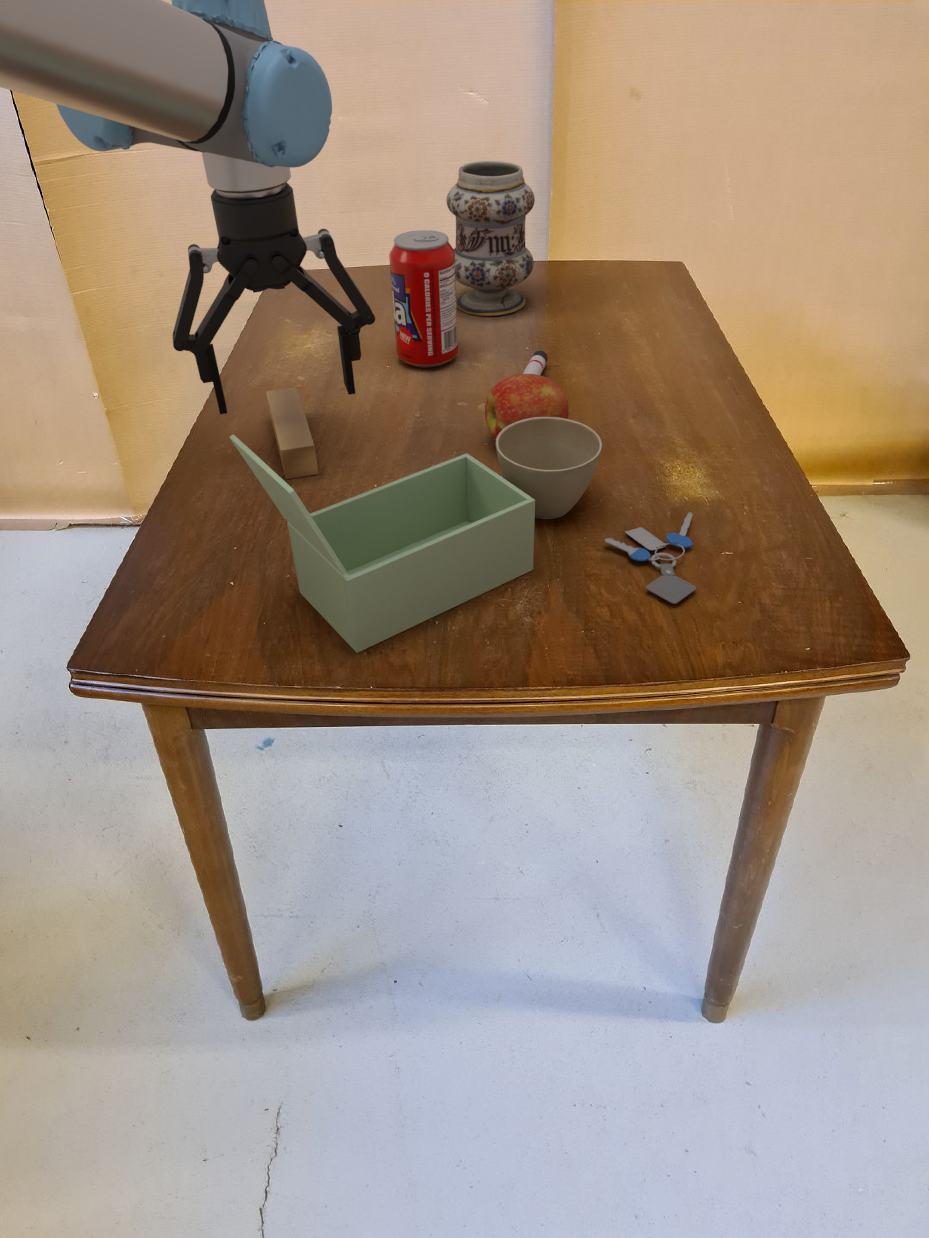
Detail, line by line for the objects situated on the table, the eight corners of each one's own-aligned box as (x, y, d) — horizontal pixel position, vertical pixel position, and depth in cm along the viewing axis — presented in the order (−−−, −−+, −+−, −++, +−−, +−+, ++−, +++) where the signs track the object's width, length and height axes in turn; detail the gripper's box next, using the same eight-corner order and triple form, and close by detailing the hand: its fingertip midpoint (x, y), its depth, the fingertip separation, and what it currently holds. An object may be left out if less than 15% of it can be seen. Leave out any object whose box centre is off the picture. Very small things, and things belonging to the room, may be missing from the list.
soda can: (457, 371, 114) (453, 248, 104) (395, 372, 114) (385, 250, 104) (458, 345, 120) (455, 226, 110) (399, 346, 120) (390, 228, 110)
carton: (356, 653, 74) (346, 581, 69) (299, 592, 80) (286, 522, 76) (533, 569, 82) (535, 499, 77) (468, 520, 88) (466, 452, 83)
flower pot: (483, 526, 88) (482, 461, 83) (510, 473, 95) (510, 411, 90) (586, 541, 85) (591, 476, 80) (605, 486, 92) (610, 423, 88)
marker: (532, 364, 115) (532, 349, 113) (547, 366, 114) (548, 350, 113) (502, 421, 103) (502, 405, 102) (519, 423, 103) (519, 407, 102)
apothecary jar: (543, 293, 133) (548, 159, 121) (515, 325, 124) (517, 184, 113) (467, 284, 136) (464, 153, 125) (435, 313, 128) (428, 176, 116)
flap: (347, 572, 69) (343, 575, 69) (287, 514, 75) (283, 517, 75) (294, 489, 62) (289, 493, 62) (233, 433, 68) (228, 437, 68)
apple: (480, 433, 101) (479, 366, 96) (551, 423, 103) (554, 356, 98) (499, 469, 95) (499, 399, 90) (575, 457, 97) (579, 388, 92)
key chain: (696, 609, 77) (697, 601, 76) (598, 600, 78) (599, 593, 78) (693, 517, 87) (694, 510, 87) (607, 511, 89) (607, 504, 88)
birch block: (285, 479, 95) (280, 450, 93) (270, 418, 105) (265, 391, 103) (318, 474, 96) (314, 444, 93) (300, 414, 106) (296, 386, 104)
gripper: (376, 162, 88) (393, 366, 102) (110, 190, 84) (166, 400, 97) (392, 182, 83) (408, 396, 96) (109, 213, 78) (168, 433, 92)
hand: (287, 398), depth 97 cm, fingers open, 13 cm apart
